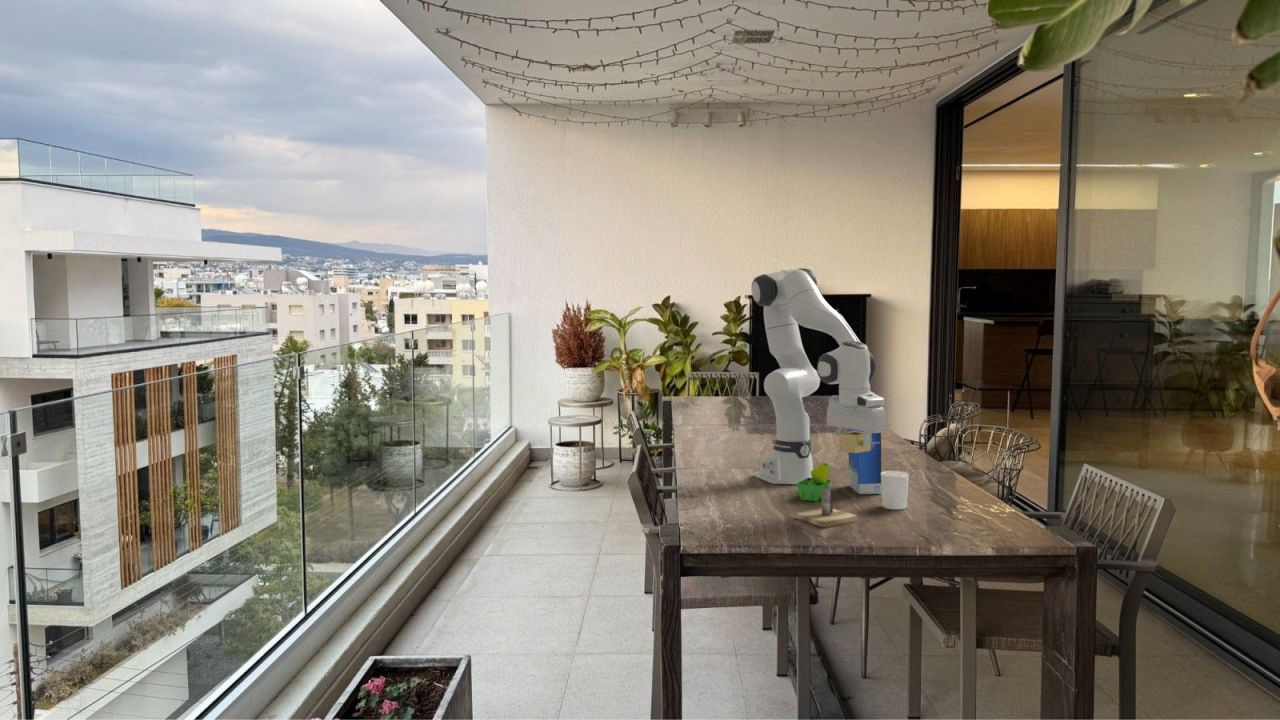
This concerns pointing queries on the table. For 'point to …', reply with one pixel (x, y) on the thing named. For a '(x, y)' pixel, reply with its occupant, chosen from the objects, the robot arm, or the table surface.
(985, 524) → the table surface
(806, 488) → the fruit basket
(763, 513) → the table surface
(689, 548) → the table surface
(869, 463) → the string lights box
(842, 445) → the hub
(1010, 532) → the table surface
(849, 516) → the shaft block
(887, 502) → the white cup
